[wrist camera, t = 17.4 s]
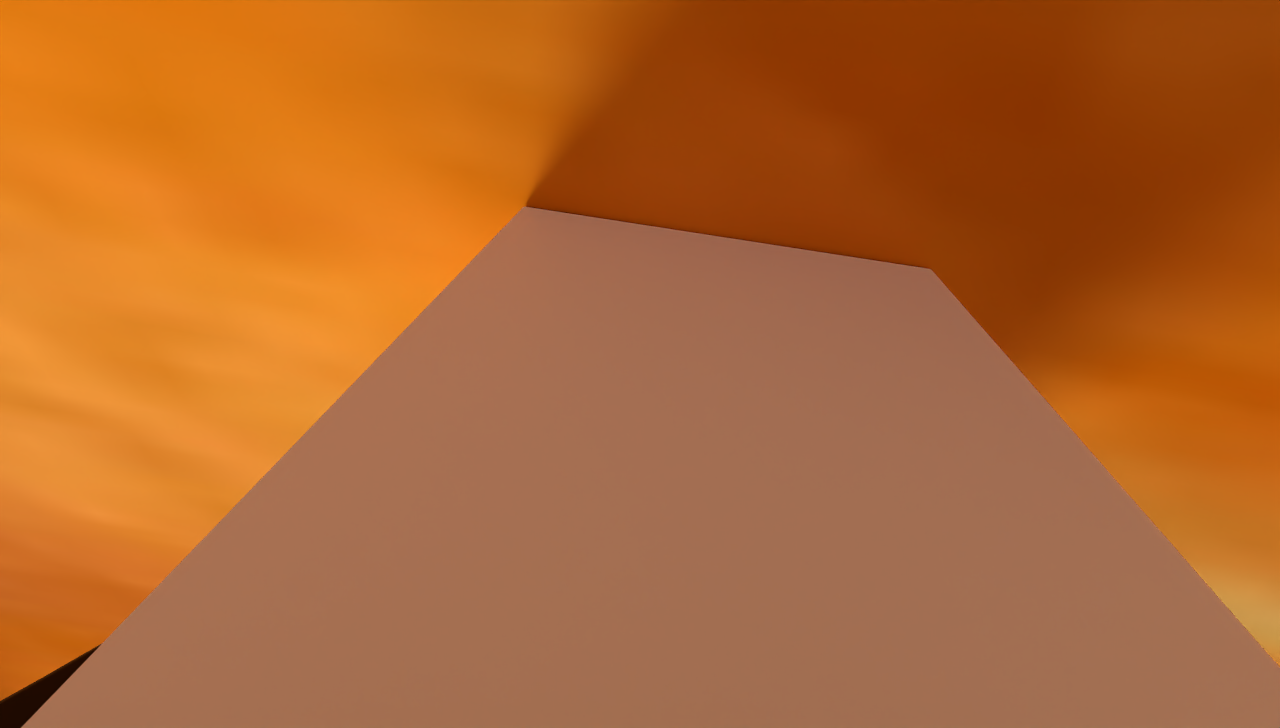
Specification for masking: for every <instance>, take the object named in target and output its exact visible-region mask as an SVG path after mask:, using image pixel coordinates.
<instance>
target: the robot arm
mask: <svg viewBox="0 0 1280 728" xmlns="http://www.w3.org/2000/svg"><path fill="white" fill-rule="evenodd" d="M100 645H101V644H100ZM100 645H98V646H97V647H95V648H93V649H91V650H90V651H88V652H86V653H84V654H83V655H81V656H79V657H78V658H76V659H74V660H72V661H71V662H69V663H67V664H65V665H64V666H62V667H60V668H58V669H57V670H55V671H53V672H51V673H50V674H48V675H46V676H45V677H43V678H41V679H39V680H37V681H36V682H34V683H32V684H30V685H28V686H27V687H25V688H23V689H21V690H19V691H18V692H16V693H14V694H12V695H10V696H9V697H7V698H5V699H3V700H1V701H0V728H21V727H22V726H23V725H24V724H25V723H26V722H27V721H28V720H29V719H30V718H31V717H32V716H33V715H34V714H35V713H36V712H37V711H38V710H39V709H40V708H41V707H42V706H43V704H44V703H45V702H46V701H47V700H48V699H49V698H50V697H51V696H52V695H53V694H54V693H55V692H56V691H57V690H58V689H59V688H60V687H61V686H62V685H63V684H64V683H65V682H66V681H67V680H68V679H69V678H70V677H71V675H72V674H73V673H74V672H75V671H76V670H77V669H78V668H79V667H80V666H81V665H82V664H83V663H84V662H85V661H86V660H87V659H88V658H89V657H90V656H91V655H92V654H93V653H94V652H95V651H96V650H97V649H98V647H99V646H100Z"/></svg>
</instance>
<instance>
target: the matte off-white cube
mask: <svg viewBox="0 0 1280 728" xmlns="http://www.w3.org/2000/svg"><path fill="white" fill-rule="evenodd" d="M21 728H1280V667H1279V666H1278V665H1277V664H1276V663H1275V662H1274V660H1273V659H1272V658H1271V657H1270V656H1269V655H1268V654H1267V652H1266V651H1265V650H1264V649H1263V648H1262V647H1261V646H1260V644H1259V643H1258V642H1257V641H1256V640H1255V639H1254V638H1253V636H1252V635H1251V634H1250V633H1249V632H1248V631H1247V630H1246V628H1245V627H1244V626H1243V625H1242V624H1241V623H1240V622H1239V620H1238V619H1237V618H1236V617H1235V616H1234V615H1233V614H1232V612H1231V611H1230V610H1229V609H1228V608H1227V607H1226V606H1225V604H1224V603H1223V602H1222V601H1221V600H1220V599H1219V598H1218V596H1217V595H1216V594H1215V593H1214V592H1213V591H1212V590H1211V588H1210V587H1209V586H1208V585H1207V584H1206V583H1205V582H1204V580H1203V579H1202V578H1201V577H1200V576H1199V575H1198V574H1197V572H1196V571H1195V570H1194V569H1193V568H1192V567H1191V566H1190V564H1189V563H1188V562H1187V561H1186V560H1185V559H1184V558H1183V556H1182V555H1181V554H1180V553H1179V552H1178V551H1177V550H1176V548H1175V547H1174V546H1173V545H1172V544H1171V543H1170V542H1169V540H1168V539H1167V538H1166V537H1165V536H1164V535H1163V534H1162V532H1161V531H1160V530H1159V529H1158V528H1157V527H1156V526H1155V524H1154V523H1153V522H1152V521H1151V520H1150V519H1149V518H1148V516H1147V515H1146V514H1145V513H1144V512H1143V511H1142V510H1141V508H1140V507H1139V506H1138V505H1137V504H1136V503H1135V502H1134V500H1133V499H1132V498H1131V497H1130V496H1129V495H1128V494H1127V492H1126V491H1125V490H1124V489H1123V488H1122V487H1121V486H1120V484H1119V483H1118V482H1117V481H1116V480H1115V479H1114V478H1113V476H1112V475H1111V474H1110V473H1109V472H1108V471H1107V470H1106V468H1105V467H1104V466H1103V465H1102V464H1101V463H1100V462H1099V460H1098V459H1097V458H1096V457H1095V456H1094V455H1093V454H1092V452H1091V451H1090V450H1089V449H1088V448H1087V447H1086V446H1085V444H1084V443H1083V442H1082V441H1081V440H1080V439H1079V438H1078V436H1077V435H1076V434H1075V433H1074V432H1073V431H1072V430H1071V428H1070V427H1069V426H1068V425H1067V424H1066V423H1065V422H1064V420H1063V419H1062V418H1061V417H1060V416H1059V415H1058V414H1057V412H1056V411H1055V410H1054V409H1053V408H1052V407H1051V406H1050V404H1049V403H1048V402H1047V401H1046V400H1045V399H1044V398H1043V396H1042V395H1041V394H1040V393H1039V392H1038V391H1037V390H1036V389H1035V387H1034V386H1033V385H1032V384H1031V383H1030V382H1029V381H1028V379H1027V378H1026V377H1025V376H1024V375H1023V374H1022V373H1021V371H1020V370H1019V369H1018V368H1017V367H1016V366H1015V365H1014V363H1013V362H1012V361H1011V360H1010V359H1009V358H1008V357H1007V355H1006V354H1005V353H1004V352H1003V351H1002V350H1001V349H1000V347H999V346H998V345H997V344H996V343H995V342H994V341H993V339H992V338H991V337H990V336H989V335H988V334H987V333H986V331H985V330H984V329H983V328H982V327H981V326H980V325H979V323H978V322H977V321H976V320H975V319H974V318H973V317H972V315H971V314H970V313H969V312H968V311H967V310H966V309H965V307H964V306H963V305H962V304H961V303H960V302H959V301H958V299H957V298H956V297H955V296H954V295H953V294H952V293H951V291H950V290H949V289H948V288H947V287H946V286H945V285H944V283H943V282H942V281H941V280H940V279H939V278H938V277H937V275H936V274H935V273H934V272H933V271H932V270H931V269H927V268H921V267H914V266H908V265H901V264H895V263H888V262H882V261H875V260H869V259H862V258H856V257H849V256H843V255H836V254H830V253H823V252H817V251H810V250H804V249H797V248H791V247H784V246H778V245H771V244H765V243H758V242H752V241H745V240H739V239H732V238H726V237H719V236H713V235H706V234H700V233H693V232H687V231H680V230H674V229H667V228H661V227H654V226H648V225H641V224H635V223H628V222H622V221H615V220H609V219H602V218H596V217H589V216H583V215H576V214H570V213H563V212H557V211H550V210H544V209H537V208H531V207H523V208H522V209H521V210H520V211H519V212H518V213H517V214H516V215H515V216H514V217H513V218H512V219H511V220H510V222H509V223H508V224H507V225H506V226H505V227H504V228H503V229H502V230H501V231H500V232H499V233H498V234H497V235H496V236H495V237H494V238H493V239H492V240H491V241H490V242H489V243H488V244H487V245H486V246H485V247H484V248H483V249H482V251H481V252H480V253H479V254H478V255H477V256H476V257H475V258H474V259H473V260H472V261H471V262H470V263H469V264H468V265H467V266H466V267H465V268H464V269H463V270H462V271H461V272H460V273H459V274H458V275H457V276H456V277H455V279H454V280H453V281H452V282H451V283H450V284H449V285H448V286H447V287H446V288H445V289H444V290H443V291H442V292H441V293H440V294H439V295H438V296H437V297H436V298H435V299H434V300H433V301H432V302H431V303H430V304H429V305H428V306H427V308H426V309H425V310H424V311H423V312H422V313H421V314H420V315H419V316H418V317H417V318H416V319H415V320H414V321H413V322H412V323H411V324H410V325H409V326H408V327H407V328H406V329H405V330H404V331H403V332H402V333H401V334H400V336H399V337H398V338H397V339H396V340H395V341H394V342H393V343H392V344H391V345H390V346H389V347H388V348H387V349H386V350H385V351H384V352H383V353H382V354H381V355H380V356H379V357H378V358H377V359H376V360H375V361H374V362H373V364H372V365H371V366H370V367H369V368H368V369H367V370H366V371H365V372H364V373H363V374H362V375H361V376H360V377H359V378H358V379H357V380H356V381H355V382H354V383H353V384H352V385H351V386H350V387H349V388H348V389H347V390H346V391H345V393H344V394H343V395H342V396H341V397H340V398H339V399H338V400H337V401H336V402H335V403H334V404H333V405H332V406H331V407H330V408H329V409H328V410H327V411H326V412H325V413H324V414H323V415H322V416H321V417H320V418H319V419H318V421H317V422H316V423H315V424H314V425H313V426H312V427H311V428H310V429H309V430H308V431H307V432H306V433H305V434H304V435H303V436H302V437H301V438H300V439H299V440H298V441H297V442H296V443H295V444H294V445H293V446H292V447H291V448H290V450H289V451H288V452H287V453H286V454H285V455H284V456H283V457H282V458H281V459H280V460H279V461H278V462H277V463H276V464H275V465H274V466H273V467H272V468H271V469H270V470H269V471H268V472H267V473H266V474H265V475H264V476H263V478H262V479H261V480H260V481H259V482H258V483H257V484H256V485H255V486H254V487H253V488H252V489H251V490H250V491H249V492H248V493H247V494H246V495H245V496H244V497H243V498H242V499H241V500H240V501H239V502H238V503H237V504H236V505H235V507H234V508H233V509H232V510H231V511H230V512H229V513H228V514H227V515H226V516H225V517H224V518H223V519H222V520H221V521H220V522H219V523H218V524H217V525H216V526H215V527H214V528H213V529H212V530H211V531H210V532H209V533H208V535H207V536H206V537H205V538H204V539H203V540H202V541H201V542H200V543H199V544H198V545H197V546H196V547H195V548H194V549H193V550H192V551H191V552H190V553H189V554H188V555H187V556H186V557H185V558H184V559H183V560H182V561H181V563H180V564H179V565H178V566H177V567H176V568H175V569H174V570H173V571H172V572H171V573H170V574H169V575H168V576H167V577H166V578H165V579H164V580H163V581H162V582H161V583H160V584H159V585H158V586H157V587H156V588H155V589H154V590H153V592H152V593H151V594H150V595H149V596H148V597H147V598H146V599H145V600H144V601H143V602H142V603H141V604H140V605H139V606H138V607H137V608H136V609H135V610H134V611H133V612H132V613H131V614H130V615H129V616H128V617H127V618H126V620H125V621H124V622H123V623H122V624H121V625H120V626H119V627H118V628H117V629H116V630H115V631H114V632H113V633H112V634H111V635H110V636H109V637H108V638H107V639H106V640H105V641H104V642H103V643H102V644H101V645H100V646H99V647H98V649H97V650H96V651H95V652H94V653H93V654H92V655H91V656H90V657H89V658H88V659H87V660H86V661H85V662H84V663H83V664H82V665H81V666H80V667H79V668H78V669H77V670H76V671H75V672H74V673H73V674H72V675H71V677H70V678H69V679H68V680H67V681H66V682H65V683H64V684H63V685H62V686H61V687H60V688H59V689H58V690H57V691H56V692H55V693H54V694H53V695H52V696H51V697H50V698H49V699H48V700H47V701H46V702H45V703H44V704H43V706H42V707H41V708H40V709H39V710H38V711H37V712H36V713H35V714H34V715H33V716H32V717H31V718H30V719H29V720H28V721H27V722H26V723H25V724H24V725H23V726H22V727H21Z"/></svg>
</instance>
